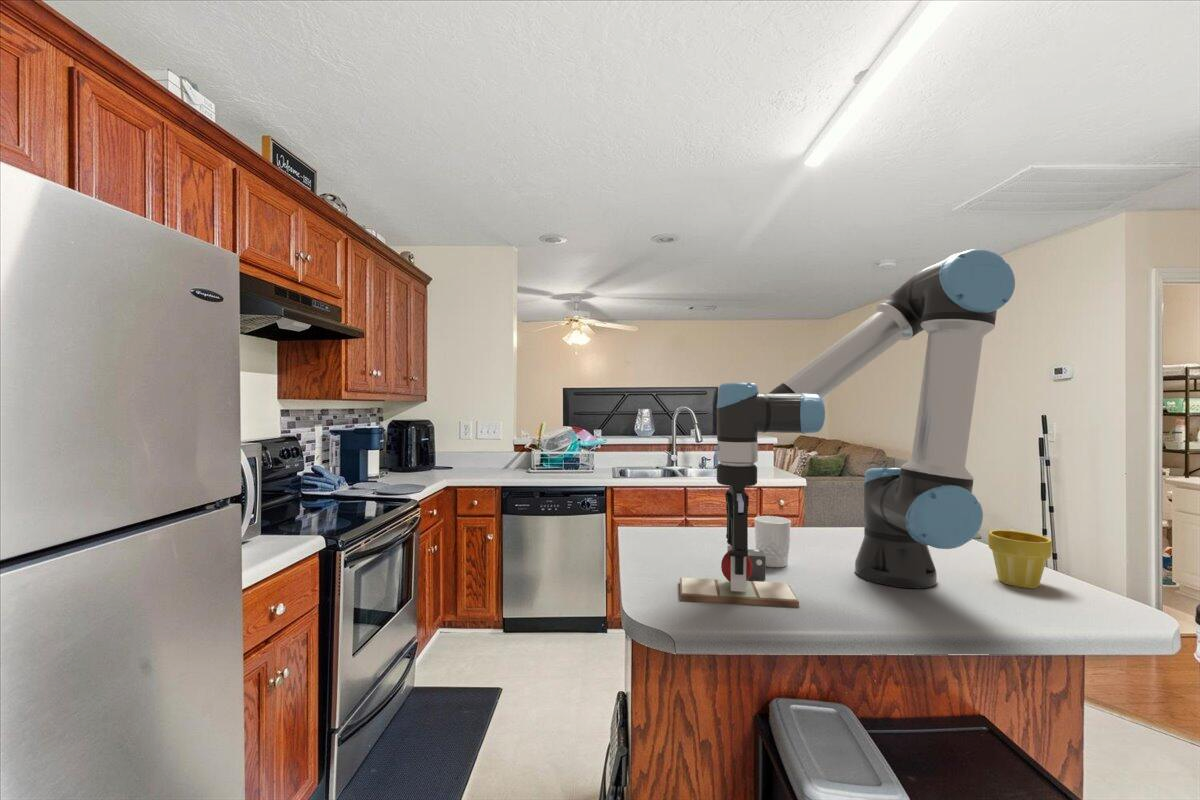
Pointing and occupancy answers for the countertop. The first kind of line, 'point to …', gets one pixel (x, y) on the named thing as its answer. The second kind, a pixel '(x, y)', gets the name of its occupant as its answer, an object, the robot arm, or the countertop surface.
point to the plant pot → (1019, 556)
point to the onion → (727, 566)
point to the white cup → (773, 539)
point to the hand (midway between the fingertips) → (736, 584)
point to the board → (737, 592)
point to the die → (757, 564)
